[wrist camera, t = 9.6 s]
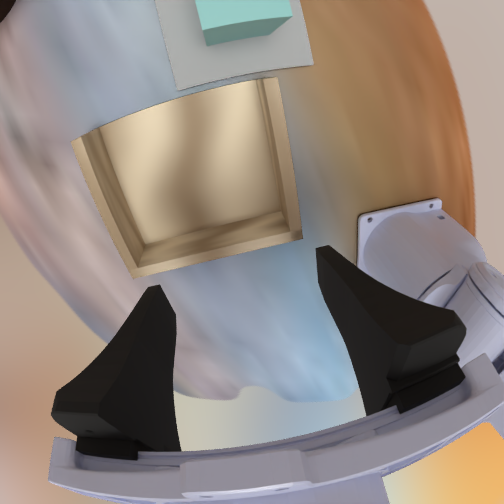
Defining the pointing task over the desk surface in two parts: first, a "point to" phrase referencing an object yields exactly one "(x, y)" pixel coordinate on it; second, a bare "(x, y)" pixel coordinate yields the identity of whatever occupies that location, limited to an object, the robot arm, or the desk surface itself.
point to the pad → (228, 46)
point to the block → (241, 18)
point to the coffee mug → (5, 7)
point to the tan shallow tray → (195, 177)
